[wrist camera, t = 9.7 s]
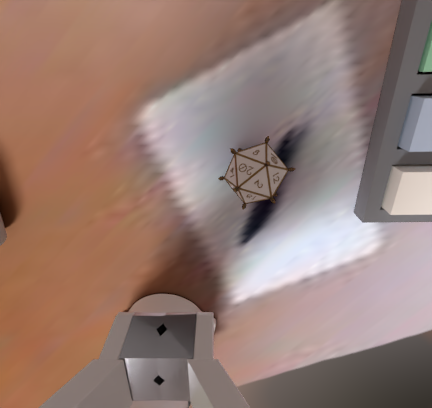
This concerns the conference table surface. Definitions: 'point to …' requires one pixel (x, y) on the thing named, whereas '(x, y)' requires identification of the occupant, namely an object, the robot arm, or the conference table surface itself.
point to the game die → (255, 173)
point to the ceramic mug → (2, 231)
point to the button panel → (396, 113)
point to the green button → (427, 54)
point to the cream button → (409, 190)
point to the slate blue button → (417, 125)
